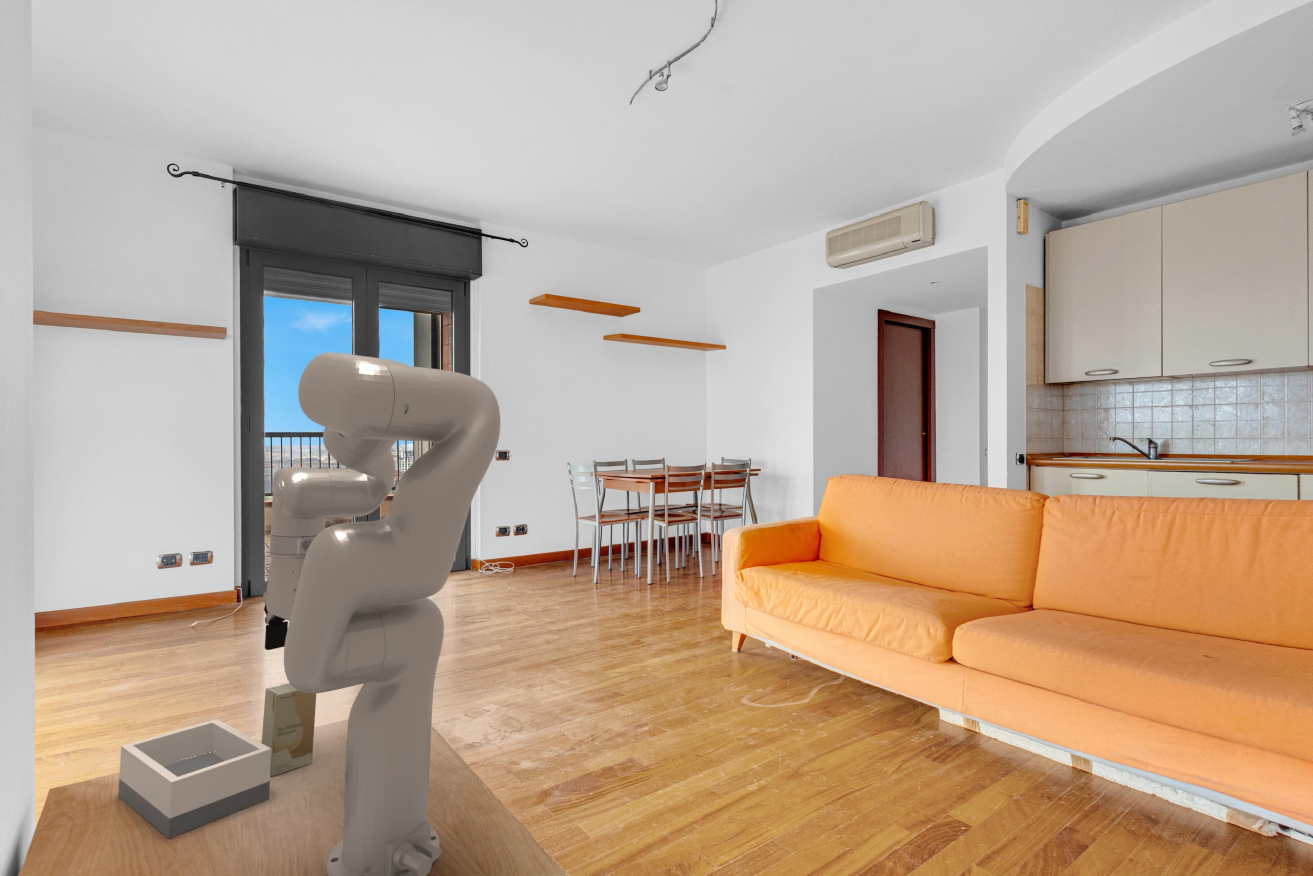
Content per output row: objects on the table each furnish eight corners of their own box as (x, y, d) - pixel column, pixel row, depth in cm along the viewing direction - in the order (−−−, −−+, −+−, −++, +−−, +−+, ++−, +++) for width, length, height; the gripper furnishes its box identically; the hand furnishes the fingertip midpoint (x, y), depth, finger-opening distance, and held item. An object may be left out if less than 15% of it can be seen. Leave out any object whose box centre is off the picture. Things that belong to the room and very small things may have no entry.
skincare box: (270, 778, 97) (274, 695, 98) (258, 768, 100) (262, 688, 100) (314, 762, 103) (318, 684, 103) (302, 754, 105) (305, 678, 106)
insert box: (268, 799, 91) (271, 748, 92) (168, 839, 81) (171, 782, 82) (214, 764, 101) (216, 719, 101) (118, 796, 91) (121, 746, 91)
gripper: (351, 549, 101) (345, 660, 100) (293, 537, 110) (287, 638, 110) (302, 555, 95) (295, 673, 94) (245, 541, 104) (239, 648, 104)
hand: (291, 654), depth 102 cm, fingers open, 9 cm apart
